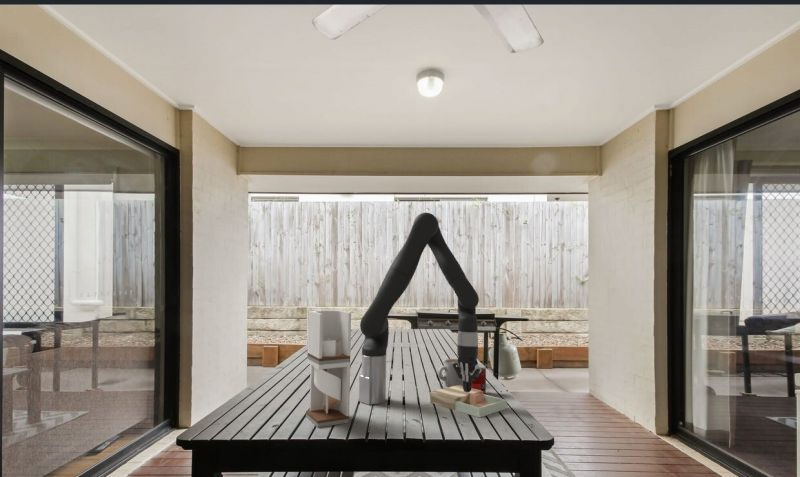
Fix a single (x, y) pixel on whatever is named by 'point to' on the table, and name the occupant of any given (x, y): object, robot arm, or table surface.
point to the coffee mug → (450, 374)
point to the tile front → (482, 404)
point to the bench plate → (451, 396)
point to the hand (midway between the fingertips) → (467, 391)
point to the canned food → (480, 380)
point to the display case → (329, 367)
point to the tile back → (476, 398)
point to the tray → (484, 410)
